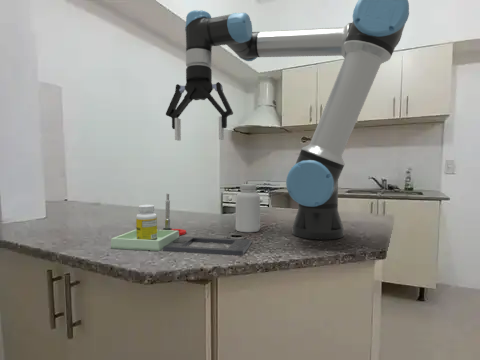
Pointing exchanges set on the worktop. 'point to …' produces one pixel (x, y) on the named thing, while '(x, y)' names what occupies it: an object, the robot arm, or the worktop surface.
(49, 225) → the worktop surface
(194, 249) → the dark grey slotted board
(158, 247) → the tray
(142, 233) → the supplement bottle
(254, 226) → the pill bottle
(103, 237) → the worktop surface
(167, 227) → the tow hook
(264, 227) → the worktop surface
